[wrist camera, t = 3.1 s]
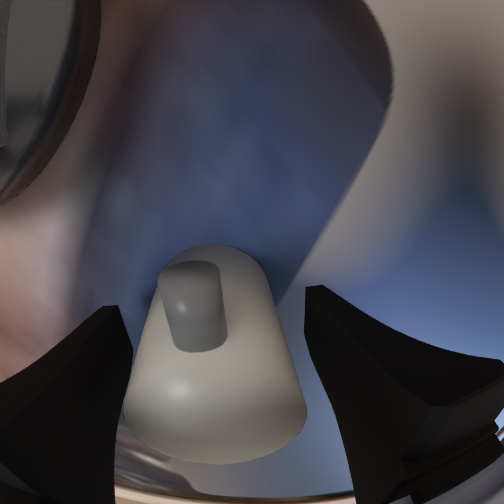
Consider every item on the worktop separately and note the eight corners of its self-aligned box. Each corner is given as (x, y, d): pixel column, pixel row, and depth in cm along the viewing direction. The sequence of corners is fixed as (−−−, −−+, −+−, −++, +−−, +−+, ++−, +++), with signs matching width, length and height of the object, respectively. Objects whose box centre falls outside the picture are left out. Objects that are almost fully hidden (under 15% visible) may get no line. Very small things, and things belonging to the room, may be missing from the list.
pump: (270, 333, 13) (301, 454, 7) (169, 343, 12) (154, 465, 7) (264, 199, 10) (317, 288, 5) (139, 212, 10) (67, 310, 5)
